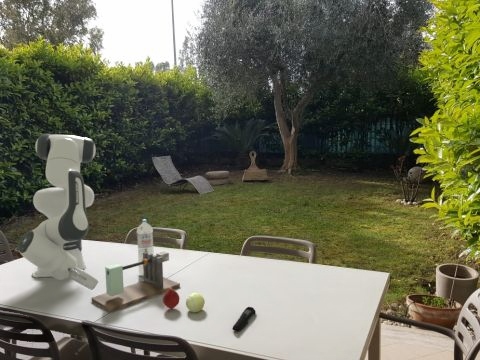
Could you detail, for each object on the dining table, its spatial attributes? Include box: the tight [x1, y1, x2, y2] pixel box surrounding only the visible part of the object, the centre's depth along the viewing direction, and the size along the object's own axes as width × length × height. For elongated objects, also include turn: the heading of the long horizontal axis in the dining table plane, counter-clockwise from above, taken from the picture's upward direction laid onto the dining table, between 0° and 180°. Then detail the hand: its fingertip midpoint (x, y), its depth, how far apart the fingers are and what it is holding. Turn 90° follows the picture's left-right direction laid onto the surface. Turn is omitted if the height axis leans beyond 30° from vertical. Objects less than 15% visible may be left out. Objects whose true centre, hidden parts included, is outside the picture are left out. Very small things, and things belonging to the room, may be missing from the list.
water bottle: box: [136, 218, 155, 278], centre depth 176 cm, size 7×7×25 cm
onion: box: [162, 287, 181, 310], centre depth 142 cm, size 6×6×8 cm
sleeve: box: [104, 263, 125, 296], centre depth 148 cm, size 5×4×10 cm
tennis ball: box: [185, 292, 205, 313], centre depth 141 cm, size 6×7×7 cm
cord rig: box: [90, 251, 181, 314], centre depth 155 cm, size 31×14×14 cm, turn 137°
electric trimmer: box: [232, 306, 257, 332], centre depth 132 cm, size 4×16×3 cm, turn 158°
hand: (92, 285), depth 142 cm, fingers closed
